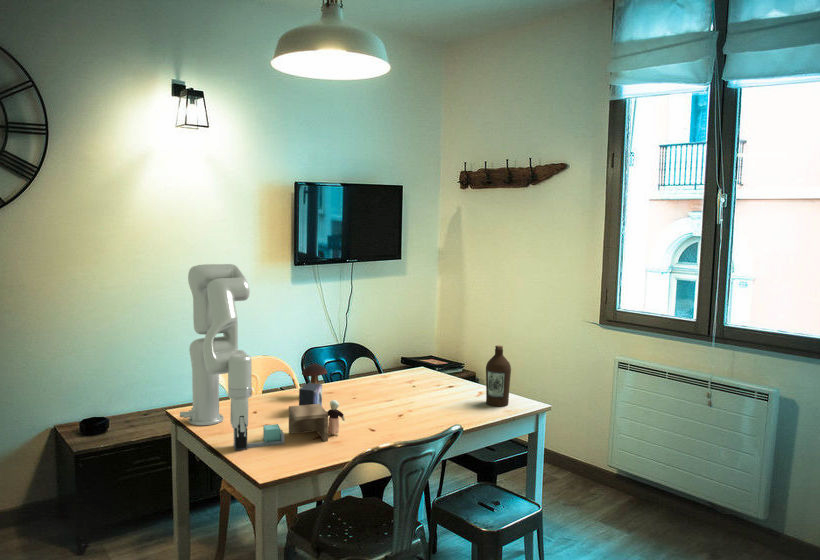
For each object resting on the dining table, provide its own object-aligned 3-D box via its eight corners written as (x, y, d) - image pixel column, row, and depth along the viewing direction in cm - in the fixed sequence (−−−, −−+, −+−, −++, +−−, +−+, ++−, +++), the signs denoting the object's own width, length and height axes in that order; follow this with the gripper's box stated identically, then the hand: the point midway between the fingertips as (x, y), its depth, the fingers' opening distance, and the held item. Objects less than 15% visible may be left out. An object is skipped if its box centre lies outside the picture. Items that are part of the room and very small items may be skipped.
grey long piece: (234, 450, 211) (234, 430, 210) (233, 444, 217) (232, 424, 216) (285, 445, 216) (285, 425, 216) (281, 439, 222) (281, 419, 222)
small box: (313, 416, 250) (313, 390, 249) (298, 414, 251) (298, 388, 250) (322, 408, 260) (323, 383, 259) (307, 407, 261) (307, 382, 261)
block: (265, 444, 218) (265, 429, 217) (263, 439, 222) (263, 425, 222) (280, 442, 219) (280, 428, 219) (277, 438, 224) (277, 424, 224)
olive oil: (488, 399, 280) (489, 342, 277) (512, 402, 276) (514, 345, 274) (482, 405, 270) (483, 347, 267) (506, 408, 266) (508, 349, 264)
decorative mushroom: (307, 402, 269) (307, 367, 268) (297, 395, 278) (298, 362, 277) (331, 399, 274) (331, 364, 273) (321, 393, 284) (321, 359, 283)
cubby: (295, 444, 218) (295, 416, 217) (288, 432, 230) (288, 406, 229) (327, 441, 222) (328, 413, 221) (319, 429, 234) (319, 403, 233)
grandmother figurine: (322, 436, 226) (323, 401, 225) (323, 432, 230) (324, 398, 229) (344, 436, 227) (345, 401, 226) (345, 433, 231) (345, 398, 230)
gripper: (225, 386, 218) (226, 439, 219) (230, 399, 202) (231, 455, 204) (248, 385, 221) (248, 436, 222) (254, 397, 205) (255, 453, 207)
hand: (240, 445), depth 213 cm, fingers closed on grey long piece, 4 cm apart
